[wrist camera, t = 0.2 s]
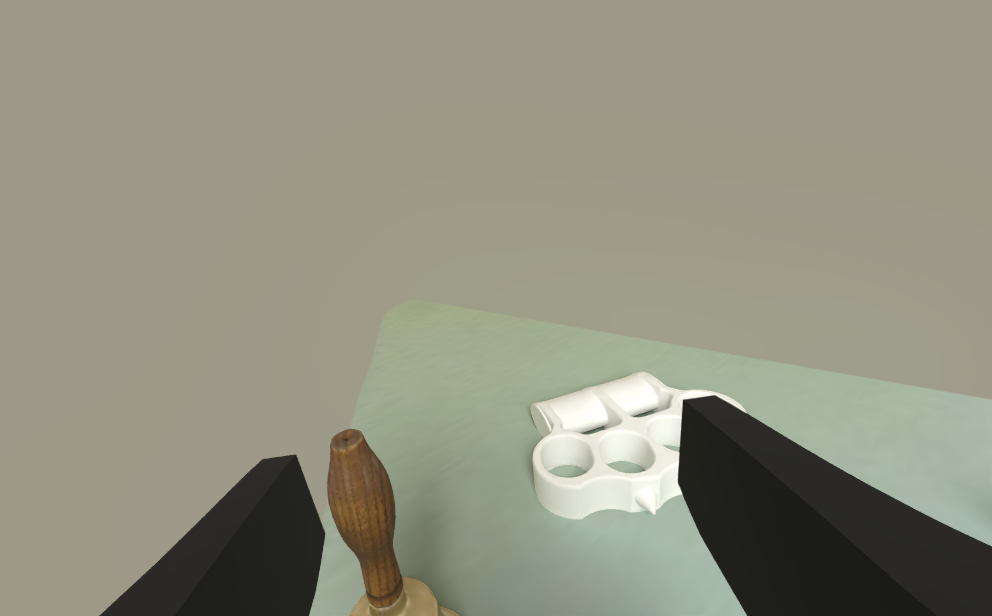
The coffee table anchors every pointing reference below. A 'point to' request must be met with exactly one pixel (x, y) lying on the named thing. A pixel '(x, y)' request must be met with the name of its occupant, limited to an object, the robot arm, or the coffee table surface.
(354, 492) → the hand bell
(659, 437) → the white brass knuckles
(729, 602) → the coffee table surface
